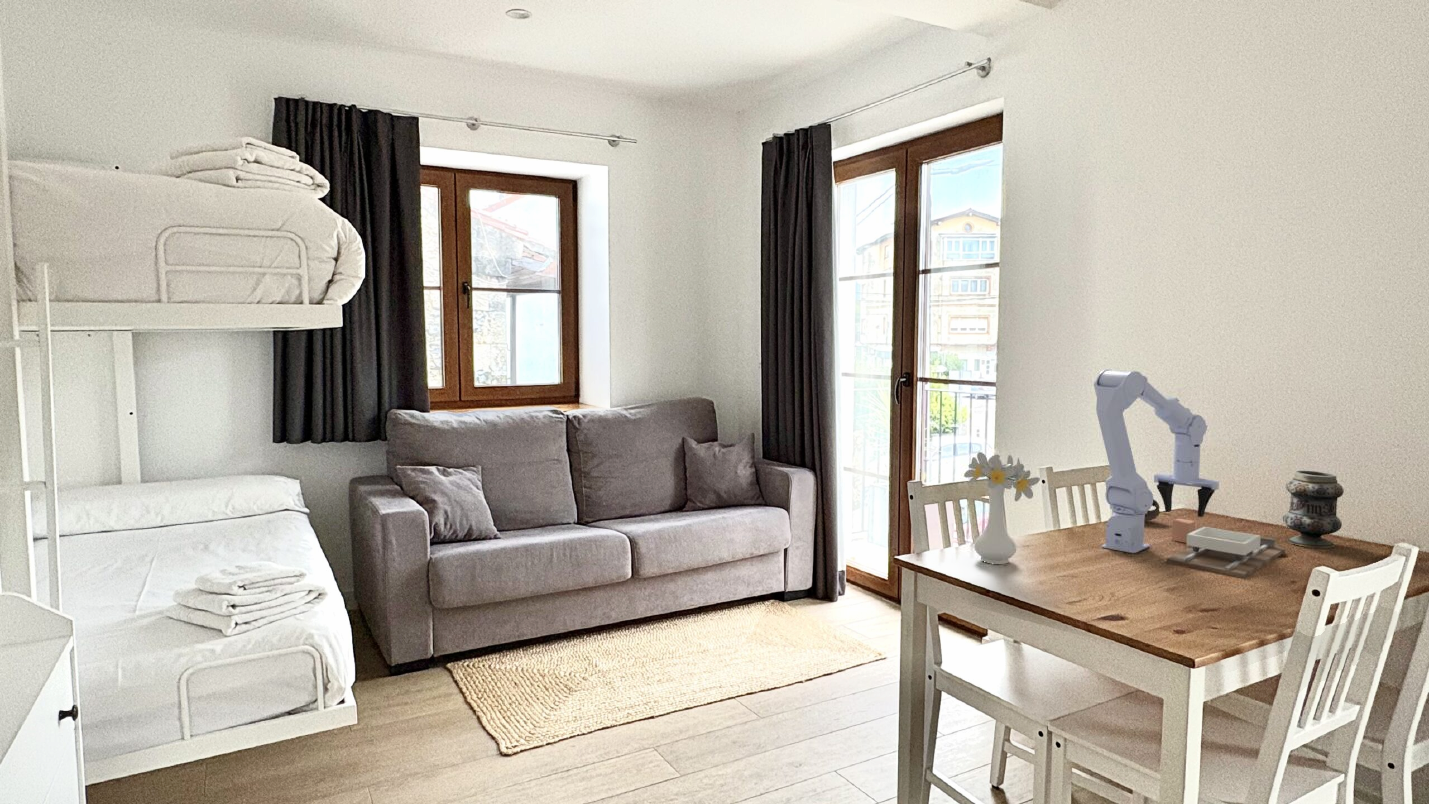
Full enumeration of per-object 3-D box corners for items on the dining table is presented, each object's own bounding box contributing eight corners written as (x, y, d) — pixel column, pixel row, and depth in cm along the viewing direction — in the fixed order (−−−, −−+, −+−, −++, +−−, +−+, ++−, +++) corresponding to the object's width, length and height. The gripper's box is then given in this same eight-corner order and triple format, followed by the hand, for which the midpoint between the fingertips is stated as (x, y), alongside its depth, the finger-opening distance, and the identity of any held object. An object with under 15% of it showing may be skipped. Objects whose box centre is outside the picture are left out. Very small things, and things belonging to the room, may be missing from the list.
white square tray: (1244, 562, 190) (1245, 544, 189) (1186, 551, 198) (1187, 534, 198) (1259, 553, 197) (1260, 535, 196) (1202, 543, 206) (1203, 526, 205)
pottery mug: (1154, 519, 241) (1164, 498, 236) (1151, 540, 234) (1161, 518, 229) (1109, 505, 245) (1118, 484, 240) (1105, 525, 238) (1114, 504, 234)
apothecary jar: (1351, 547, 208) (1356, 474, 207) (1319, 552, 204) (1323, 478, 202) (1302, 535, 220) (1306, 467, 218) (1270, 540, 215) (1274, 470, 214)
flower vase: (1014, 576, 186) (1017, 463, 184) (948, 557, 201) (950, 453, 199) (1050, 566, 194) (1053, 458, 191) (983, 548, 209) (986, 448, 206)
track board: (1244, 578, 184) (1245, 564, 184) (1166, 563, 196) (1166, 550, 195) (1284, 552, 204) (1285, 540, 204) (1211, 540, 216) (1211, 528, 215)
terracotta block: (1188, 543, 213) (1189, 523, 213) (1171, 540, 216) (1172, 521, 216) (1194, 540, 216) (1195, 521, 215) (1177, 537, 219) (1178, 518, 218)
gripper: (1224, 462, 211) (1221, 515, 213) (1162, 455, 222) (1160, 506, 223) (1214, 465, 207) (1211, 520, 208) (1151, 459, 217) (1149, 511, 219)
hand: (1184, 513), depth 215 cm, fingers open, 7 cm apart
